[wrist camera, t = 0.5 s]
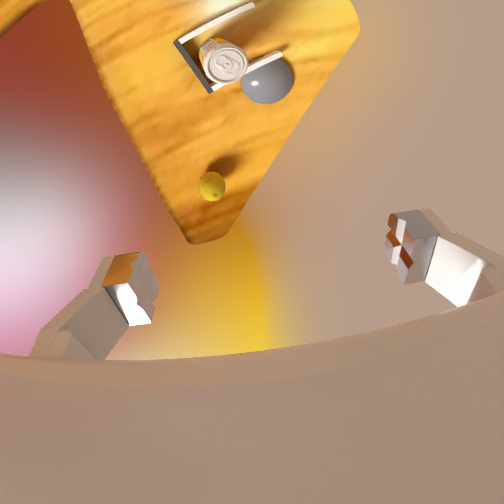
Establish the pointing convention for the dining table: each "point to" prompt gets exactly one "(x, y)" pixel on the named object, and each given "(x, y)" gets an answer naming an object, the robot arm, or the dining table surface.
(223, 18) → the channel
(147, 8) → the dining table surface
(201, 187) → the lemon
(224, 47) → the beer can
